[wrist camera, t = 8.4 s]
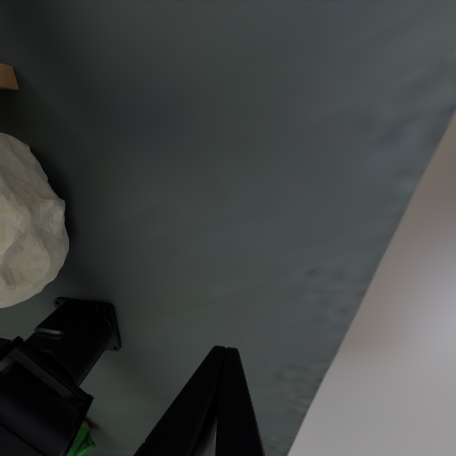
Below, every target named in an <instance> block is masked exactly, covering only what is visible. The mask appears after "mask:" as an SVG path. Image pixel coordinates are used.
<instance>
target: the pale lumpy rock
mask: <svg viewBox="0 0 456 456" xmlns="http://www.w3.org/2000/svg"><path fill="white" fill-rule="evenodd" d="M47 181H48V178H47V175H46V174H45V173H44V171H43V170H42V167H41V165H40V163H39V162H38V160H37V159H36V157H35V156H34V155H33V154H32V153H31V152H30V148H29V146H28V145H27V144H25V143H23V142H21V141H19V140H18V139H16V138H14V137H13V136H11V135H7V134H3V133H0V308H5V307H9V306H13V305H15V304H18V303H20V302H22V301H25V300H27V299H29V298H31V297H32V296H33V295H35V294H37V293H39V292H41V291H42V290H43V288H44V287H45V286H46V285H47V284H48V283H49V282H51V281H53V280H54V279H55V278H56V276H57V274H58V271H59V270H60V269H61V267H62V266H63V264H64V261H65V258H66V255H67V253H68V251H69V238H68V235H67V231H66V228H65V224H64V221H65V217H64V212H65V201H64V200H63V199H60V198H59V197H58V196H57V195H56V194H55V193H54V191H53V190H52V188H51V186H50V185H49V184H48V182H47Z"/></svg>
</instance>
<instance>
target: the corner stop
mask: <svg viewBox="0 0 456 456" xmlns="http://www.w3.org/2000/svg"><path fill="white" fill-rule="evenodd" d="M0 89H10V90H19V88H18V84H17V81H16V77H15V73H14V70H13V66H11V65H7V64H2V63H0Z"/></svg>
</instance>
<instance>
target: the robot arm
mask: <svg viewBox="0 0 456 456" xmlns="http://www.w3.org/2000/svg"><path fill="white" fill-rule="evenodd" d="M54 305H55V308H56V310H55V311H54V312H53V313H52V314H51V315H49V316H48V317H47V318H46V319H45V320H44V321H43V322H42V323H40V324H39V325H38V326H37V327H36V328H35V329H34V331H35V332H34V333H33V334H32V335H31V336H30V337H29V338H28V339H27V340H25V341H24V342H23V339H22V338H21V337H20V336H17V337H16V338H15V339H13V340H12V341H11V340H10V339H9V340H7V339H3V338H0V456H67V454H68V453H69V451H70V449H71V447H72V445H73V443H74V441H75V438H76V436H77V434H78V432H79V430H80V427H81V425H82V423H83V421H84V419H85V416H86V414H87V412H88V410H89V408H90V405H91V403H92V401H93V399H94V397H93V396H91V395H90V394H87V393H86V392H84V391H83V390H82V389H81V388H80V387H79V386H80V385H81V383H82V382H83V380H84V379H85V378H86V376H87V375H88V373H89V372H90V370H91V369H92V368H93V366H94V365H95V363H96V362H97V361H98V359H99V358H100V356H101V355H102V353H103V352H104V351H105V350H111V351H119V349H120V348H121V342H120V337H119V332H118V328H117V323H116V318H115V313H114V308H113V306H112V305H111V304H109V303H102V302H94V301H87V300H79V299H71V298H64V297H58V298H56V299H55V300H54ZM216 427H217V431H216ZM215 432H216V451H215V456H265V453H264V449H263V445H262V441H261V437H260V433H259V429H258V425H257V421H256V417H255V413H254V409H253V406H252V402H251V398H250V394H249V390H248V386H247V382H246V378H245V374H244V370H243V366H242V362H241V359H240V355H239V351H238V349H237V348H231V347H227V348H226V347H224V346H217V345H216V346H214V347H213V348H212V350H211V351H210V352H209V354H208V355H207V356H206V358H205V359H204V360H203V362H202V363H201V365H200V366H199V367H198V369H197V370H196V371H195V373H194V374H193V375H192V377H191V378H190V379H189V381H188V382H187V384H186V385H185V386H184V388H183V389H182V390H181V392H180V393H179V394H178V396H177V397H176V399H175V400H174V401H173V403H172V404H171V405H170V407H169V408H168V409H167V411H166V412H165V414H164V415H163V416H162V418H161V419H160V420H159V422H158V423H157V424H156V426H155V427H154V429H153V430H152V431H151V433H150V434H149V435H148V437H147V438H146V440H145V442H144V443H142V445H141V446H140V447H139V449H138V450H137V452H136V453H135V454H134V456H210V452H211V448H212V444H213V440H214V436H215Z"/></svg>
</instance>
